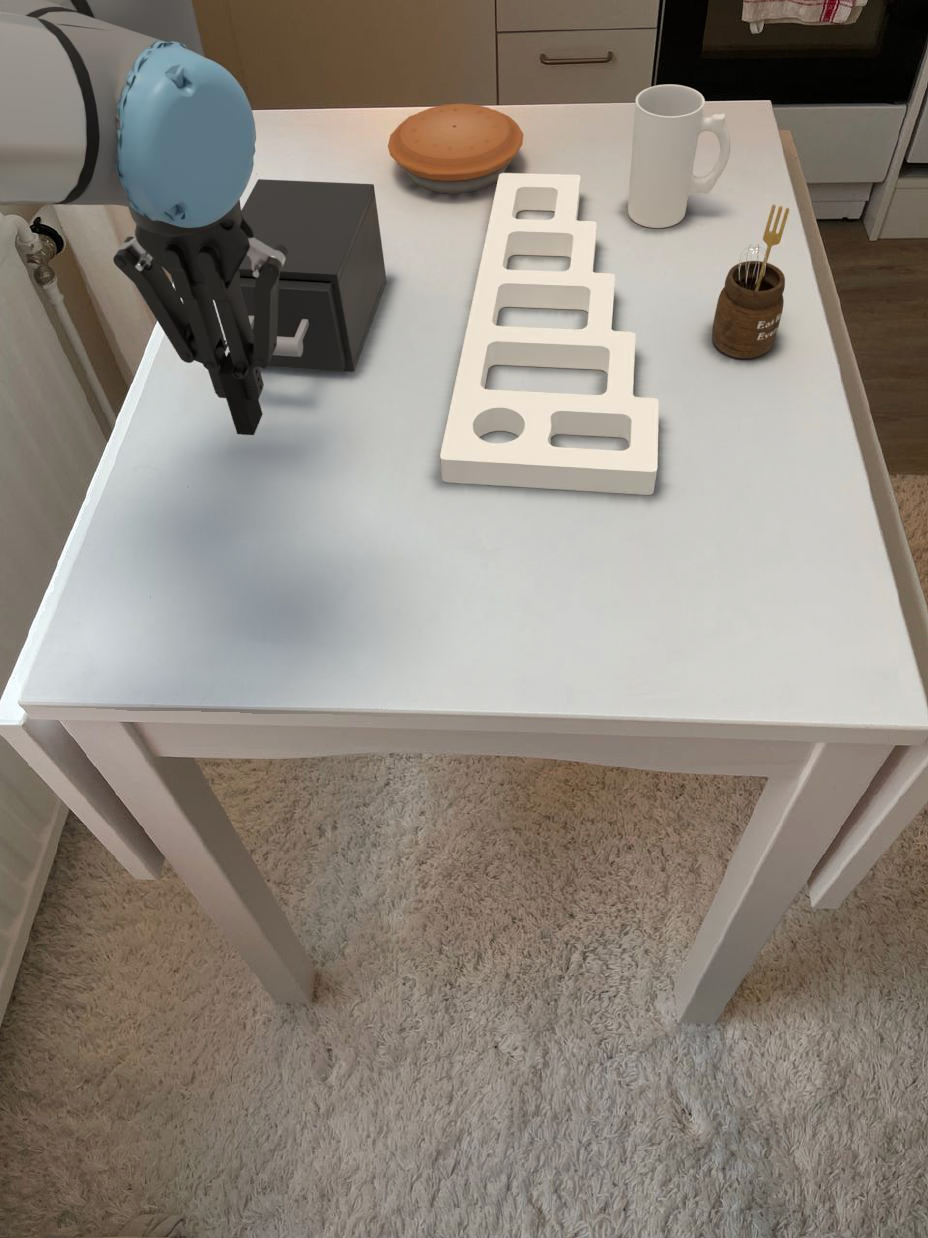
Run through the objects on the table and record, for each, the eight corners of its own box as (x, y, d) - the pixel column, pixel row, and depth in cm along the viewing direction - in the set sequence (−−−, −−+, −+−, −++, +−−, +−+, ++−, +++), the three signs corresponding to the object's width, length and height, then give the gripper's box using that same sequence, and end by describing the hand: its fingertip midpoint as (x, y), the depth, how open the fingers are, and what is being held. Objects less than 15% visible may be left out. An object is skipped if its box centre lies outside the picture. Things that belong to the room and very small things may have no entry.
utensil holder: (700, 349, 90) (722, 234, 81) (725, 313, 94) (748, 197, 84) (760, 368, 89) (789, 252, 79) (783, 330, 92) (814, 213, 82)
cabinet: (354, 371, 91) (336, 273, 83) (238, 363, 93) (210, 266, 84) (386, 280, 100) (373, 183, 91) (280, 274, 101) (258, 178, 93)
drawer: (332, 403, 87) (315, 322, 80) (224, 395, 89) (198, 314, 82) (375, 286, 98) (363, 205, 90) (278, 280, 99) (259, 200, 92)
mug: (620, 226, 103) (631, 114, 94) (629, 193, 107) (640, 81, 97) (715, 235, 101) (735, 121, 92) (720, 201, 105) (740, 88, 96)
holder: (499, 195, 108) (499, 172, 106) (660, 200, 106) (663, 176, 104) (441, 481, 82) (439, 459, 80) (653, 495, 80) (657, 472, 78)
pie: (525, 134, 116) (526, 92, 112) (519, 205, 107) (519, 161, 103) (400, 135, 117) (395, 93, 113) (383, 205, 108) (378, 162, 104)
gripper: (280, 130, 65) (333, 400, 84) (101, 124, 67) (192, 390, 86) (247, 189, 61) (311, 460, 79) (57, 180, 62) (164, 447, 81)
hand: (250, 423), depth 83 cm, fingers closed
